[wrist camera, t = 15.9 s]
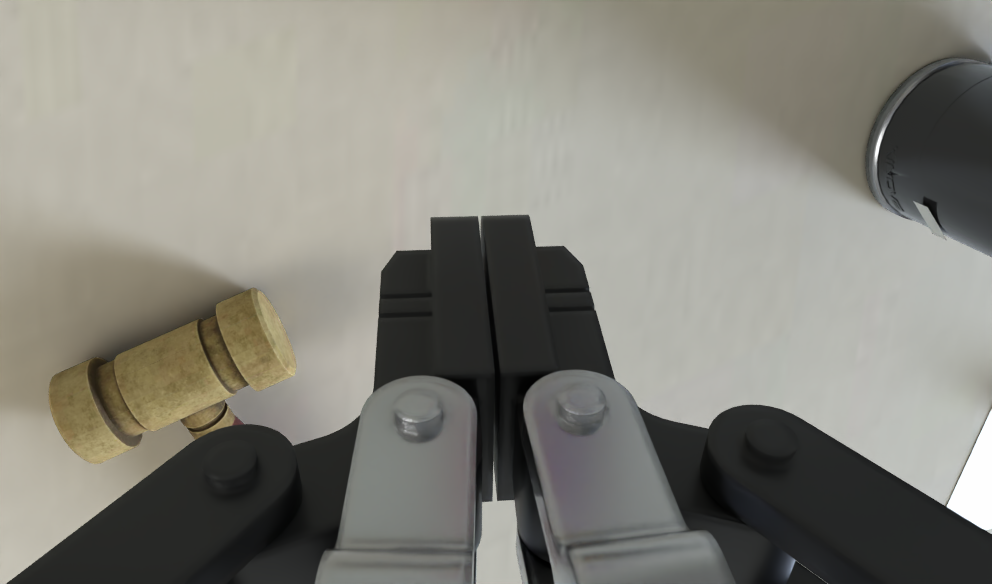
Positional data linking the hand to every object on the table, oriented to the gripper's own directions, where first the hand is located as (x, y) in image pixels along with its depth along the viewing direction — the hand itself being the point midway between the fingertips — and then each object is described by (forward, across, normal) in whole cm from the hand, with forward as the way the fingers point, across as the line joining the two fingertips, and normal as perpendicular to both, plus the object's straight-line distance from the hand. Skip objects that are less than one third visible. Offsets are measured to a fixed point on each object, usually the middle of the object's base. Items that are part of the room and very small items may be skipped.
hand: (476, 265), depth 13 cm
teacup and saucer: (+31, -49, +38) cm, 70 cm away
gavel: (+20, +11, +27) cm, 36 cm away
